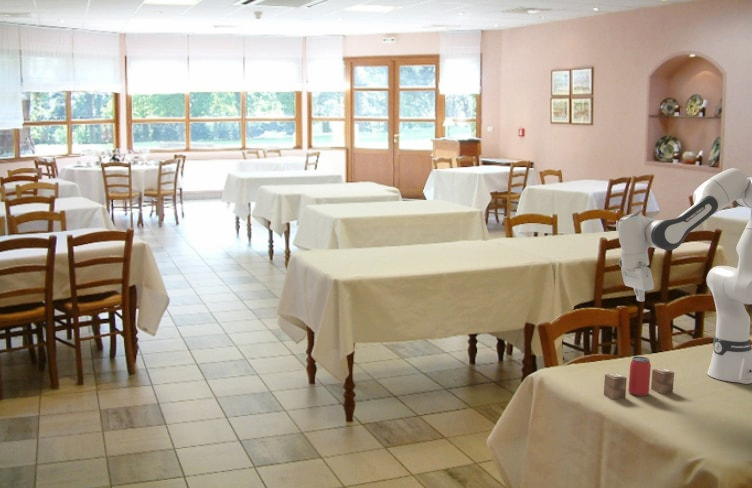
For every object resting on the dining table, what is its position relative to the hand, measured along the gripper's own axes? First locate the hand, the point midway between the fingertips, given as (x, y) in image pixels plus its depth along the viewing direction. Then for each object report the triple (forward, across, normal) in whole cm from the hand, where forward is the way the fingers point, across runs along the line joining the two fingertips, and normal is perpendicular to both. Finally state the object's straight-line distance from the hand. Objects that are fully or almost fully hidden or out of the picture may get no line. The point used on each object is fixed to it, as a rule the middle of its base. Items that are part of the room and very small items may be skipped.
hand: (640, 301), depth 305 cm
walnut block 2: (+30, -5, -1) cm, 31 cm away
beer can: (+30, -8, +8) cm, 32 cm away
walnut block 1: (+28, -11, +17) cm, 35 cm away
